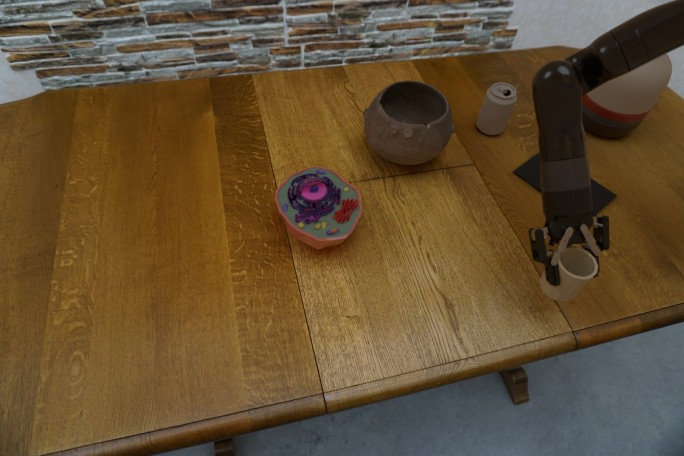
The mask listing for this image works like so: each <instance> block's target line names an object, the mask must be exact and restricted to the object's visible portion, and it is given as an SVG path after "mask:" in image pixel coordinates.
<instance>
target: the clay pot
mask: <svg viewBox="0 0 684 456" xmlns="http://www.w3.org/2000/svg"><path fill="white" fill-rule="evenodd" d="M362 116H363V118H364V123H363V133H364V138H365V141H366V143H367V144H368V147H370V149H372V151H374V153H375V154H377V155H378V156H380V157H382V158H383V159H384V160H386V161H388V162H391V163H393V164H397V165H402V166H416V165H420V164H424V163H426V162H428V161H431V160H433V159H435V158H436V157H438V156H440V155H441V153H442V152H444V150H445V149H446V147H447V146H448V144H449V143H450V140H451V138H452V136H453V134H454V133H456V125H455V124H454V122H453V121H454V120H453V112H452V108H451V104H450V102H449V100H448V98H447V97H446V95H445V94H444V93H443V92H442V91H440V90H439V89H438V88H436V87H434V86H433V85H432V84H430V83H426V82H424V81H421V80H410V79H409V80H408V79H407V80H400V81H395V82H393V83H390V84H389V85H386V86H385V87H384V88H383V89H381V90H380V91H379V92H378V93H377V94H376V95H375V97H374V98H373V99H372V101H371V102H370V104H369V106H368V108H367V107H365V109H364V111H363V113H362Z"/></svg>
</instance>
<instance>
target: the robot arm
mask: <svg viewBox="0 0 684 456" xmlns="http://www.w3.org/2000/svg"><path fill="white" fill-rule="evenodd" d="M683 46H684V0H671V1H668V2H665V3H662V4H660V5H659V4H658V5H657V6H654V7H651V8H649V9H646V10H645V11H642V12H641V13H639V14H637V15H634V16H632V17H631V18H629V19H627V20H625V21H624V22H622V23H620V24H618V25H616V26H614V27H613V28H611V29H609V30H607V31H606V32H604V33H602V34H601V35H599V36H598V37H596V38H595V39H594V40H593V41H592V42H591V43H590V44H588V45H587V46H586V47H584V48H582V49H580V50H578V51H576V52H575V53H572V54H571V55H569V56H567V57H565V58H564V59H554V60H550V61H548V62H546V63H545V64H542V66H540V67H539V68H538V70H536V72H535V74H534V76H533V78H532V83H531V94H532V101H533V108H534V114H535V119H536V124H537V128H538V129H537V132H538V133H537V135H538V136H537V137H538V139H537V141H538V142H537V143H538V144H537V145H538V153H539V155H540V161H541V162H540V183H541V192H540V195H541V202H542V213H543V215H544V217H545V222H544V224H543V226H540V227H537V228H536V227H530V228H529V229H528V231H527V233H528V238H529V239H528V240H529V244H530V246H529V247H530V251H531V258H532V261H533V262H535V263H538V264H541V265H543V266H544V271H545V276H546V281H547V282H549V284H550V285H553V286H559V285H560V276H559V265H557V263H558V260H559V258H560V255H561V254H562V253H564V251H565V248H566V247H568V246H574V245H579V247H581V248H582V249H584V250H586V251H588V252H589V253H590V254H591V255H592V256H593V257H594V258H595V260H596V262H597V264H598V270H597V273H596V275H595V276H594V277H593V278H594V279H595V278H597V277H599V274H600V271H601V268H600V255H601V253H602V252H604V251H608V250H609V249H610V247H611V245H610V243H611V242H610V240H611V239H610V217H609V216H608V215H604V214H596V215H594V216H591V213H590V212H591V211H592V209H593V204H592V191H591V179H592V177H591V169H590V165H589V160H588V152H587V151H588V150H587V140H586V131H585V128H584V126H583V123H582V96H583V95H585V94H587V93H589V92H590V91H592V90H594V89H596V88H597V87H599V86H601V85H602V84H604V83H606V82H608V81H610V80H613V79H615V78H618V77H620V76H623V75H625V74H627V73H628V72H631V71H633V70H635V69H637V68H639V67H641V66H643V65H645V64H647V63H649V62H651V61H653V60H655V59H657V58H659V57H661V56H663V55H665V54H667V55H668V53H671V52H673V51H675V50H677V49H679V48H681V47H683ZM591 229H592V233H591ZM547 236H548V237H547ZM546 240H547V241H546ZM555 245H556V246H555ZM593 278H592V279H593Z"/></svg>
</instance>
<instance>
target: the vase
mask: <svg viewBox="0 0 684 456" xmlns="http://www.w3.org/2000/svg"><path fill="white" fill-rule="evenodd" d="M672 73H673V64H672V60H671V58H670V56H669V55H668V53H667V54H665V55H663V56H661V57H659V58H657V59H655V60H653V61H651V62H649V63H647V64H645V65H643V66H641V67H639V68H637V69H635V70H633V71H631V72H628V73H627V74H625V75H623V76H620V77H618V78H615V79H613V80H610V81H608V82H606V83H604V84H602V85H601V86H599V87H597V88H596V89H594V90H592V91H590V92H589V93H587V94H585V95H583V96H582V123H583V126H584V130H586V131H588V132H589V133H592V134H593V135H597V136H600V137H606V138H619V137H624V136H627V135H628V134H630V133H631V132H633V131H634V130H636V129H637V128H638V127H639V126H640V125H641V123H642V122H643V121H644V119H645V118H646V117H647V116H648V114H649V113H650V112H651V110H652V108H653V107H654V105H656V103H657V101H658V100H659V98H660V97H661V96H662V95H663V92H664V91H665V90H666V88H667V87H668V85H669V83H670V80H671V78H672Z"/></svg>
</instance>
